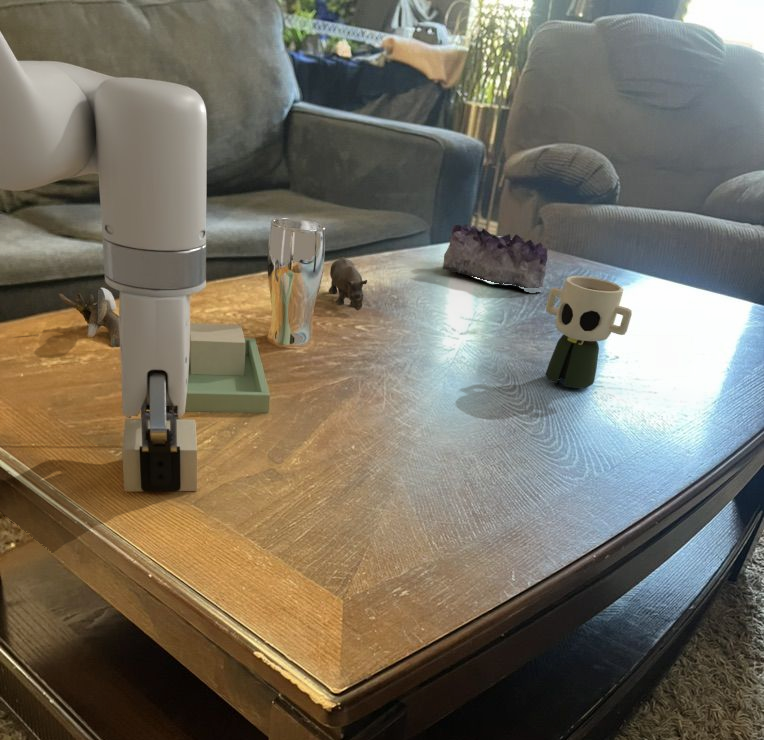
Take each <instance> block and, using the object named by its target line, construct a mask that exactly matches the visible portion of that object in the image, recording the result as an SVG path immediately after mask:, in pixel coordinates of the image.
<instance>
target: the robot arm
mask: <svg viewBox="0 0 764 740" xmlns="http://www.w3.org/2000/svg"><path fill="white" fill-rule="evenodd" d="M207 118H208V117H207V108H206V104H205V101H204V99H203V98H202V96H201V95H200V94H199V93H198V91H196V90H195V89H193V88H191V87H190V86H187V85H183V84H179V83H175V82H171V81H164V80H157V79H149V78H141V77H140V78H139V77H127V76H125V77H123V76H122V77H116V76H111V75H108V74H105V73H101V72H98V71H95V70H92V69H89V68H85V67H81V66H78V65H75V64H72V63H67V62H63V61H54V60H18V59H17V58H16V56H15V54H14V52H13V51H12V49H11V47H10V45H9V43H8V42H7V40H6V39H5V36H4V35H3V33H2V31H1V30H0V190H2V191H11V192H12V191H13V192H22V191H29V190H33V189H36V188H40V187H44V186H47V185H50V184H52V183H55V182H58V181H62V180H63V181H64V180H67V179H73V178H77V177H81V176H85V175H98V188H99V202H100V203H99V204H100V205H99V206H100V220H101V233H102V234H101V235H102V237H101V238H102V239H101V241H102V253H103V254H102V255H103V271H104V272H103V273H104V282H105V284H106V285H108V286H109V287H110V288H112V289H114V290H117V291H119V296H118V297H119V298H118V300H119V301H118V316H119V333H120V347H119V353H120V355H119V356H120V379H121V404H122V405H121V410H122V415H124V416H125V418H126V419H132V417H138V416H139V415H140V419H141V424H142V446H140V473H141V489H142V490H143V491H142V492H179V491H178V490H180V488H181V478H180V446H177V419H181V418H182V417H183V416H184V415H185V413H186V412H185V406H186V396H187V385H188V372H189V353H190V323H191V296H192V295H195V294H198V293H201V292H202V291H204V290H205V289H206V287H207V192H208V191H207V189H208V187H207V181H208V180H207V177H208V176H207V172H208V170H207V169H208V167H207V166H208V165H207V163H208V162H207V159H208V157H207V156H208V152H207V151H208V121H207V120H208V119H207ZM148 420H150V429H149V421H148ZM166 421H170V429H167V424H166Z"/></svg>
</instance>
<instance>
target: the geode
mask: <svg viewBox="0 0 764 740" xmlns="http://www.w3.org/2000/svg"><path fill="white" fill-rule="evenodd" d="M448 241H449V245H448V247H447V249H446V251H445V253H444V254H443V262H442V263H443V264H442V269H443V270H444V271H448V272H451V273H456V272H458V273H457V274H460V273H461V275H466V274H467V275H466V276H468V275H469V276H468V277H471V276H473V277H477V278H480V279H483V280H487V281H491V282H494V283H499V284H503V283H504V284H512V285H516V286H520V287H524V288H539V287H543V288H544V279H545V277H546V275H547V274H546V269H547V262H548V252H549V251H548V248H546V247H543V244H542V243H541V242H539V243H537V244H535V243H534V242H533V241H532V239H528V240H527V241H526V240H525V238H523V237H522V236H520V235H519V234H514V236H513V237H512V238H511V234H510V233H509V234H505V235H503V236H498V235H496V234H494V233H490V232H489V231H488V230H487V229H485V228H482V229H481V230H480V229H479V228H477V227H476V226H474V225H472V226H470V227H469V225H468V223H467V224H466V223H465V224H463V225H460V224H456V225H453V226H452V229H451V232H450V235H449V237H448Z"/></svg>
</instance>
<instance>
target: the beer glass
mask: <svg viewBox="0 0 764 740" xmlns="http://www.w3.org/2000/svg"><path fill="white" fill-rule="evenodd" d="M325 232H326V227H325V225H324V224H323V223H321V222H318V221H315V220H310V219H305V218H298V217H276V218H273V219H271V220H270V229H269V237H268V246H267V261H266V262H267V263H266V264H267V265H266V267H267V278H268V279H267V280H268V288H269V295H270V303H271V319H270V325H269V330H268V334H267V338H266V339H267V341H268V342H269V343H270V344H272V345H274V346H276V347H280V348H283V349H284V348H285V349H289V350H290V349H291V350H292V349H293V350H302V349H307V348H310V347H312V346H313V345H314V344H315V337H314V329H313V328H314V326H313V324H314V323H313V322H314V313H315V308H316V304H317V299H318V295H319V292H320V289H321V285H322V280H323V274H324V265H325V252H326V251H325V250H326V249H325V248H326V239H325V238H326V237H325V235H326V233H325Z"/></svg>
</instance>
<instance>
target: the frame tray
mask: <svg viewBox="0 0 764 740" xmlns="http://www.w3.org/2000/svg"><path fill="white" fill-rule="evenodd" d="M244 339H245V371H244V376H233V375H198V374H191V372H190V355H189V372H188V385H187V396H186V406H185V413H229V414H230V413H233V414H234V413H237V414H238V413H239V414H240V413H241V414H270V404H271V403H270V402H271V394H270V390H269V385H268V382H267V380H266V373H265V371H264V367H263V363H262V359H261V356H260V355H261V354H260V353H259V348H258V345H257V340H256V338H255V337H244Z"/></svg>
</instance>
